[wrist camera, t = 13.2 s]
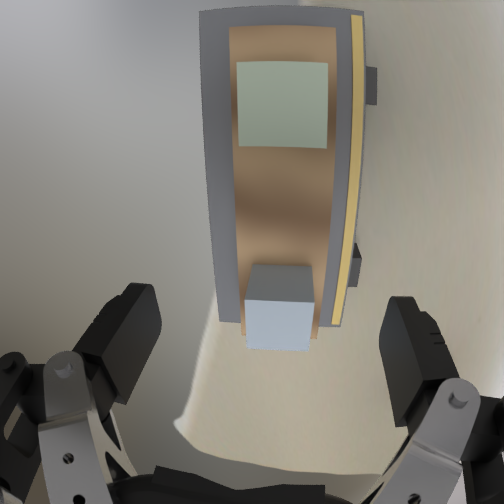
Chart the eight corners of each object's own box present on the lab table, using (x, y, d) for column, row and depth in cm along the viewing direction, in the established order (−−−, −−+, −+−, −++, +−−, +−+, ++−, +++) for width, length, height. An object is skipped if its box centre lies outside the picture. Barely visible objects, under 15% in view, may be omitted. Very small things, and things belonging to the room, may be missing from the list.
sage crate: (248, 69, 15) (236, 62, 12) (319, 70, 15) (327, 63, 11) (249, 135, 17) (238, 146, 14) (319, 137, 17) (326, 148, 13)
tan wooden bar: (242, 40, 19) (228, 27, 14) (326, 41, 18) (335, 27, 14) (249, 298, 29) (241, 335, 25) (314, 301, 28) (316, 338, 24)
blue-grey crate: (252, 264, 21) (244, 299, 18) (311, 266, 21) (314, 302, 17) (254, 310, 23) (246, 348, 20) (307, 312, 23) (308, 351, 19)
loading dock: (211, 21, 21) (198, 10, 17) (365, 23, 20) (377, 12, 16) (226, 297, 34) (219, 322, 31) (345, 302, 33) (350, 328, 29)
